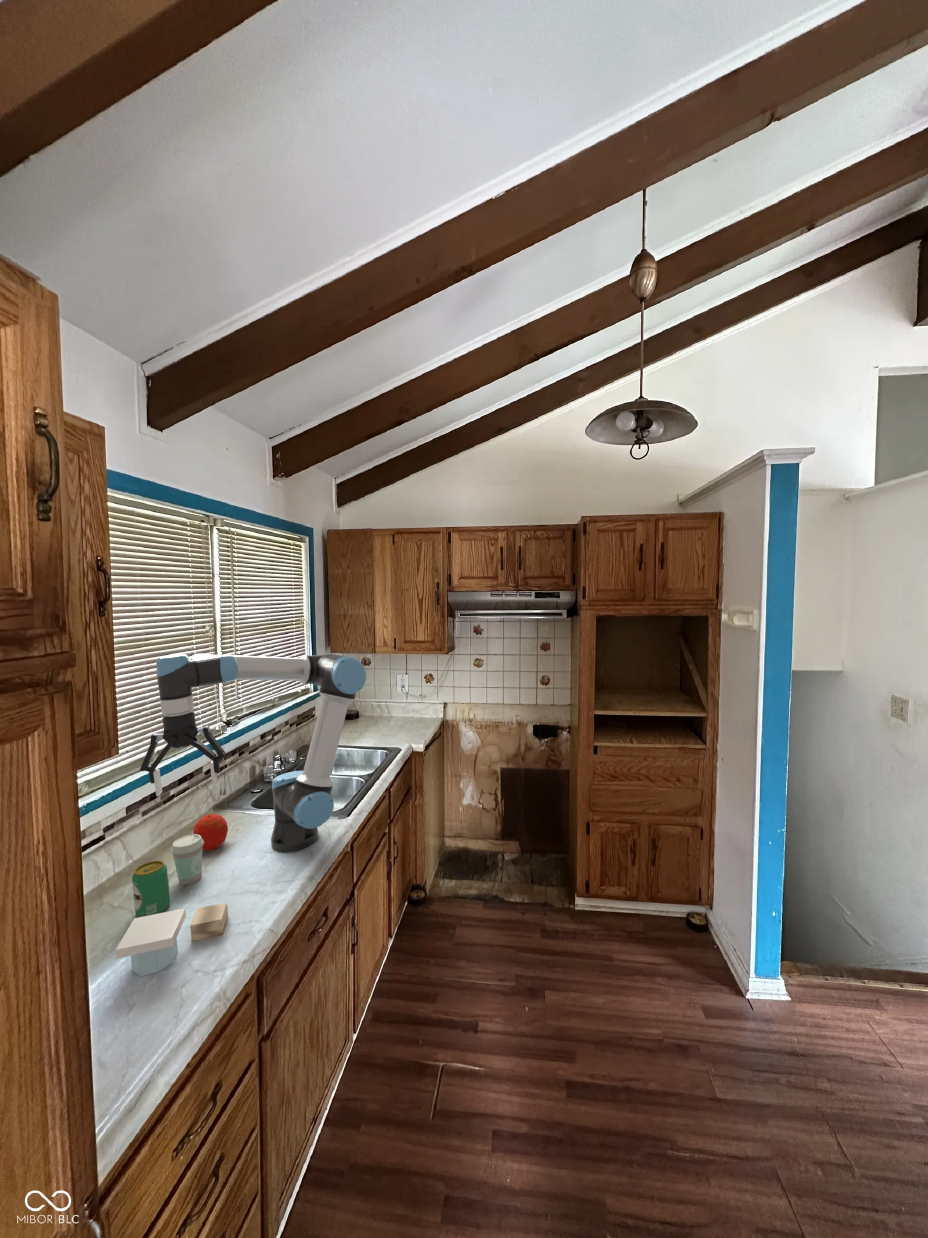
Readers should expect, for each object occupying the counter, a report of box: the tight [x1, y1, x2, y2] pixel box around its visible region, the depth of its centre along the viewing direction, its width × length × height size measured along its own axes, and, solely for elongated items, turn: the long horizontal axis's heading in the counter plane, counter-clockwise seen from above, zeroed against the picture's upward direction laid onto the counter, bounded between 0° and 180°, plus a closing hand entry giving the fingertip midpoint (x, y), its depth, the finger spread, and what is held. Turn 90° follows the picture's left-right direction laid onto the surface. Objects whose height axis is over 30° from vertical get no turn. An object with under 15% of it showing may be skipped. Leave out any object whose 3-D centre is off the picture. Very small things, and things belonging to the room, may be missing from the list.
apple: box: [193, 813, 229, 852], centre depth 168 cm, size 10×10×12 cm
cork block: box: [189, 902, 229, 942], centre depth 126 cm, size 7×7×4 cm
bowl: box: [130, 937, 179, 977], centre depth 115 cm, size 8×8×6 cm
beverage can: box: [131, 859, 171, 918], centre depth 135 cm, size 8×8×12 cm
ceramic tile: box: [115, 908, 187, 959], centre depth 115 cm, size 11×11×2 cm
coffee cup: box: [170, 833, 204, 886], centre depth 149 cm, size 8×8×12 cm
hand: (187, 789), depth 136 cm, fingers open, 13 cm apart
